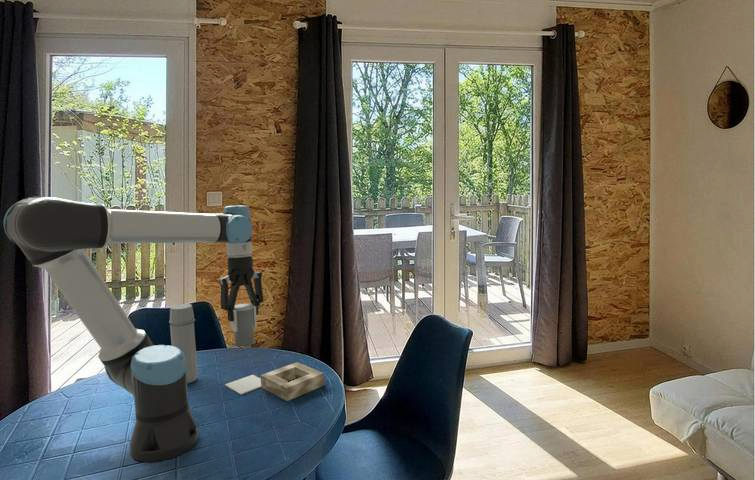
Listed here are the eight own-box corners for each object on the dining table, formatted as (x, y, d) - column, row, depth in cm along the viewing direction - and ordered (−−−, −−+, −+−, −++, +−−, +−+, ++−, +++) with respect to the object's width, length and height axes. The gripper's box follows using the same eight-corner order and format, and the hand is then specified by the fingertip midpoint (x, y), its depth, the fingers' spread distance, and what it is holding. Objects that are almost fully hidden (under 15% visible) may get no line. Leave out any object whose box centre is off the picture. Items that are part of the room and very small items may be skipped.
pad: (240, 395, 135) (240, 393, 135) (225, 385, 141) (224, 384, 141) (269, 384, 142) (269, 383, 142) (252, 375, 149) (252, 374, 149)
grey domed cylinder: (241, 347, 136) (238, 309, 135) (231, 343, 140) (229, 306, 139) (258, 342, 140) (256, 305, 139) (248, 338, 144) (246, 302, 143)
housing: (287, 401, 130) (286, 388, 130) (261, 387, 140) (260, 375, 139) (324, 385, 140) (323, 373, 140) (297, 373, 150) (297, 362, 149)
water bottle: (193, 385, 142) (187, 309, 139) (169, 385, 142) (163, 309, 140) (204, 373, 151) (199, 302, 148) (182, 373, 151) (176, 302, 149)
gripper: (216, 260, 128) (221, 338, 130) (273, 252, 141) (276, 323, 144) (204, 258, 133) (209, 333, 135) (260, 251, 146) (264, 319, 149)
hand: (244, 328), depth 140 cm, fingers closed on grey domed cylinder, 6 cm apart
